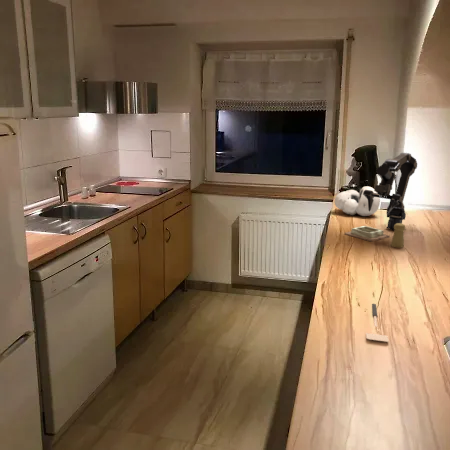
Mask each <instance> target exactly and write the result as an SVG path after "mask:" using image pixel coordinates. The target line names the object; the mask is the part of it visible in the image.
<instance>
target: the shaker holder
mask: <svg viewBox="0 0 450 450" xmlns="http://www.w3.org/2000/svg"><path fill="white" fill-rule="evenodd" d="M344 235H346V236H349V237H352V238H356V239H360V240H364V241H368V242H375V241H379V240H383V239H387V238H390V235H388V234H385V233H384V229H381V228H380V229H379V228H375V227H372V226H368V225H362V226H357V227H353V228H351V229H350V231H347V232H344Z"/></svg>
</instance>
